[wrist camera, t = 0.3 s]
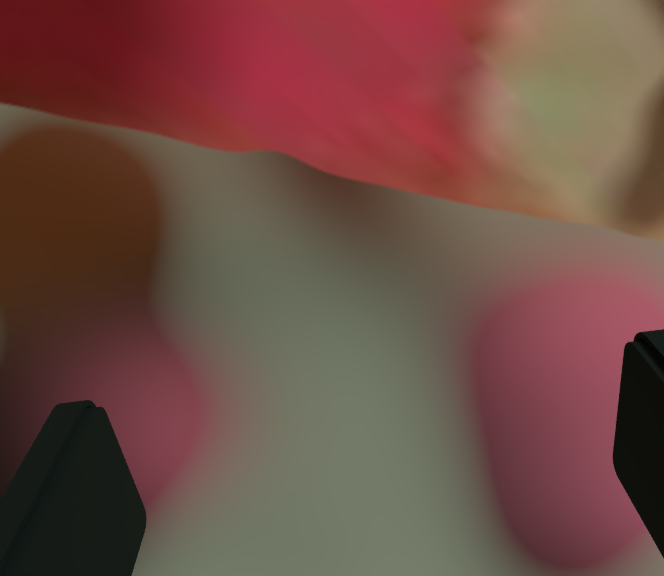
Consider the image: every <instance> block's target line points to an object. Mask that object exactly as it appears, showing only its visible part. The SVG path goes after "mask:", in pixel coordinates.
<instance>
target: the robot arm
mask: <svg viewBox="0 0 664 576" xmlns="http://www.w3.org/2000/svg"><path fill="white" fill-rule="evenodd" d="M613 464H614V468H615V471H616V474H617V476H618V478H619V480H620V482H621V484H622V485H623V487H624V489H625V490H626V492H627V494H628V496H629V498H630V499H631V501H632V503H633V505H634V506H635V508H636V510H637V512H638V514H639V515H640V517H641V519H642V521H643V522H644V524H645V526H646V528H647V529H648V531H649V533H650V534H651V536H652V538H653V540H654V541H655V544H656V545H657V547H658V549H659V551H660V552H661V554H662V556H663V558H664V329H663V330H655V331H647V332H639V333H638V334H636V336H635V337H634V341H633V342H628V343H627V344H626V345H625V348H624V356H623V365H622V374H621V384H620V393H619V402H618V412H617V421H616V431H615V439H614V449H613ZM145 528H146V511H145V508H144V505H143V503H142V500H141V498H140V495H139V493H138V491H137V488H136V485H135V483H134V480H133V478H132V475H131V473H130V470H129V468H128V465H127V463H126V461H125V458H124V455H123V453H122V450H121V448H120V446H119V443H118V440H117V438H116V435H115V433H114V431H113V428H112V426H111V423H110V421H109V418H108V416H107V413H106V411H105V409H104V408H102V407H96V406H95V404H94V403H93V402H92V401H90V400H85V401H78V402H69V403H60V404H58V405H56V406H55V407H54V409H53V410H52V412H51V413H50V415H49V417H48V419H47V420H46V422H45V424H44V425H43V427H42V429H41V431H40V432H39V434H38V436H37V438H36V439H35V441H34V443H33V444H32V446H31V448H30V450H29V451H28V453H27V455H26V456H25V458H24V460H23V462H22V463H21V465H20V467H19V469H18V470H17V472H16V474H15V475H14V477H13V479H12V481H11V482H10V484H9V486H8V487H7V489H6V491H5V493H4V494H3V496H2V498H1V500H0V576H131V575H132V572H133V569H134V565H135V562H136V558H137V555H138V552H139V548H140V545H141V542H142V539H143V535H144V532H145Z"/></svg>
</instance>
